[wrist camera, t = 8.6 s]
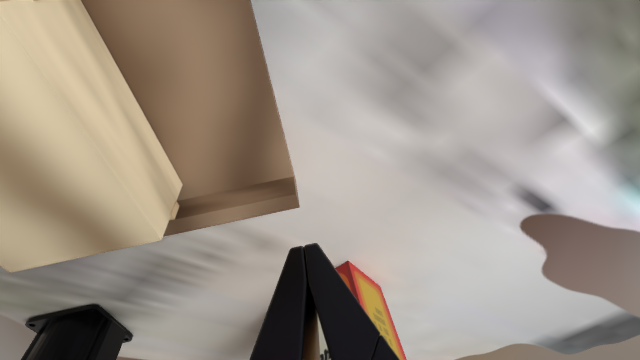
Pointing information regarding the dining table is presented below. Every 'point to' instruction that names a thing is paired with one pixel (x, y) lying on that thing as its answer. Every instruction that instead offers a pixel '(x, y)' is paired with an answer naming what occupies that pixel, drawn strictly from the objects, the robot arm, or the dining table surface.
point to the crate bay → (204, 103)
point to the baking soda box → (366, 308)
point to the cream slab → (72, 143)
